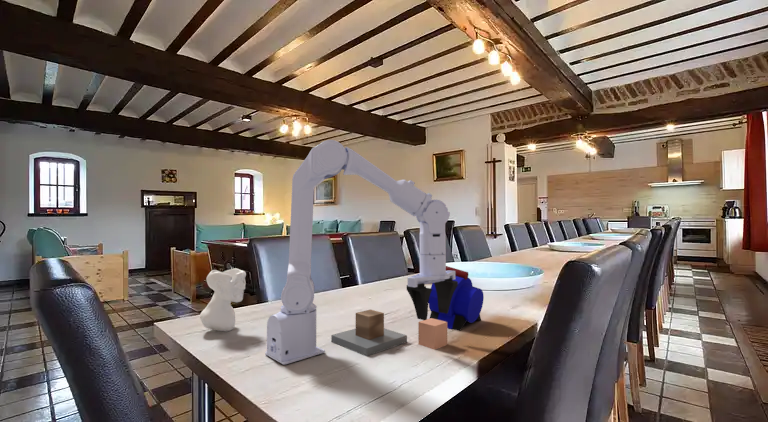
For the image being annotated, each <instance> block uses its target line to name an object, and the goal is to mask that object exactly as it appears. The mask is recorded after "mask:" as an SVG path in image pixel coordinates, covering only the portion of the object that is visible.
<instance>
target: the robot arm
mask: <svg viewBox="0 0 768 422" xmlns="http://www.w3.org/2000/svg"><path fill="white" fill-rule="evenodd" d="M343 170H344V171H343ZM341 171H343V175H344V176H346V175H347V176H354V175H355V176H359V177H360V178H362V179H364V180H365V181H367V182H369V183H370V184H372V185H374V186H375V187H378V188H379V189H380V190H382V191H384V192H386V193H387V194H388V197H389V201H390V202H391V203H392V204H393V205H395V206H396V207H398V208H400V209H402V210H403V211H405V212H407V213H408V214H409V215H411V216H412V217H415V218H416V220H417V222H418V223H419V273H417V274H416V273H415V274H414V275H411V276H408V277H407V284H406V291H407V293H408V295H409V296H410V299H411V301H412V303H413V307H414V309H415V313H416V317H417V319H418V320H421V321H423V320H427V319H428V313H429V303H428V302H429V297H430V294H431V291H432V289H431V287H430V288H429V287H427V286H426V285H429V284H430V285H431V284H432V283H434V285H435V288H436V292H437V298H438V309H439V312H441V313H446V314H447V313H448V311H449V307H450V303H451V299H452V296H453V293H454V291H455V289H456V287H457V286H458V282H457V281H452V280H454V279H456V278H455V271H450V270H447V271H446V266H447V261H446V260H447V258H446V257H447V256H446V255H447V253H446V249H447V248H446V247H447V246H446V241H447V239H446V237H447V236H446V223H447V222H448V220H449V219H450V214H451V213H450V211H449V209H448V207H447V205H446V203H444V202H443V201H442V200H440V199H432V198H433V194H431V193H430V192H428V193H426V192H424V191H423V190H422V189H420V188H418V187H417V186H416V185H415V181H413V180H412V179H411V180H407V179H399V180H397V179H395V178H393V177H392V176H390V175H389V174H388V173H386V172H384V171H383V170H382V169H381V168H379V167H378V166H377V165H375V164H374V163H372V162H370V161H369V160H368V159H366V158H365V157H363V156H362V155H360V153H358V152H356V151H355V150H353V149H352V148H350V147H348V146H345V145H343V144H342V143H340V142H339V141H337V140H335V139H327V140H324V141H322V142H320V143H319V144H317V145H315V146H314V147H312V148H311V150H310V151H309V153H308V155H307V156H306V158H305V159H304V160H303V161H302V163H301V164H300V166H299V167H298V168H297V169H296V171H295V172H294V173H293V176H292V180H291V181H292V182H291V204H290V224H289V225H290V228H289V229H290V230H289V250H288V266H287V273H286V274H287V275H286V282H285V285H284V287H283V289H282V290H281V295H280V301H281V303H282V305H281V306H280V311H278V312H277V313H274V314H272V315H270V316H269V317H268V319H267V322H266V351H265V352H264V354H265V355H266V356H267V357H269V358H271V359H272V360H274V361H277V362H278V363H280V364H282V365H288V364H292V363H294V362H298V361H302V360H304V359H308V358H312V357H314V356H319V355H321V354H324V353H325V352H326V351H325V349H323V348H322V347H319V346H317V305H316V304H315V303H314V299H315V283H314V281H313V278H312V272H311V271H312V270H311V269H312V247H313V246H312V245H313V223H314V222H313V220H314V197H315V194H314V193H315V188H317V186H319V185H320V184H321V183H322V182H324V181H325V180H327V179H329V178H332V177H334V176H337V175H338V174H340V173H341Z"/></svg>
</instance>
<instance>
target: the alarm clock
mask: <svg viewBox="0 0 768 422" xmlns="http://www.w3.org/2000/svg"><path fill="white" fill-rule="evenodd" d="M447 270H450V271H455V278H456V279H454V280H452V281H457V282H458V286H457V287H456V289H455V291H454V293H453V296H452V299H451V303H450V307H449V311H448V313H447V314H446V313H441V312H439V309H438V298H437V292H436V288H435V285H434V283H431V286H430V288H431V289H432V291H431V294H430V297H429V302H428V309H429V310H430V315H429V319H430V318H433V319H437V320H441V321H445V322H447V330H448V329H449V330H452V331H453V330H454V331H461V330H462V329H463V327H464V326H465V324H466V323H467V322H468V323H470V324H472V323H473V324H474V322H476V321H482V319H481V312H482V309H483V305H484V292H483V290H482V288H479V287H476V286H473V282H472V279H471V278H470V277H469V272H468V271H464V270H462V269H458V268H454V267H451V266H448V265H446V271H447Z"/></svg>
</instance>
